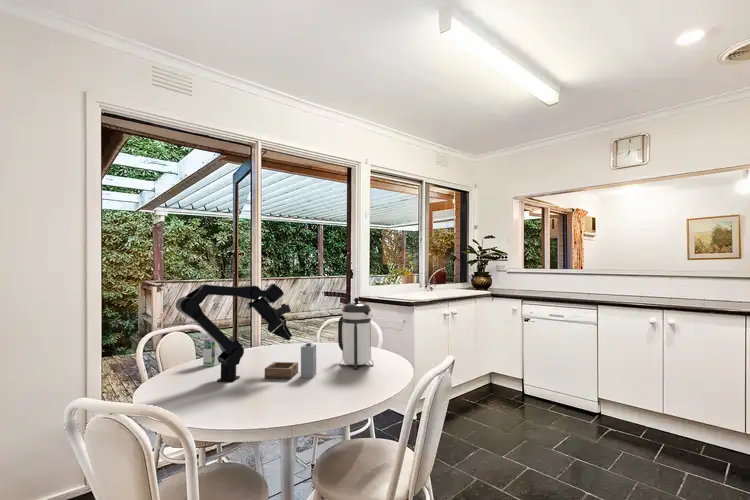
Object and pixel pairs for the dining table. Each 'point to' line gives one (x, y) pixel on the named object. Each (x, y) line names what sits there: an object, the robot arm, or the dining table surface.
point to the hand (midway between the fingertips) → (290, 338)
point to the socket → (281, 370)
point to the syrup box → (210, 351)
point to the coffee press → (355, 334)
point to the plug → (308, 361)
